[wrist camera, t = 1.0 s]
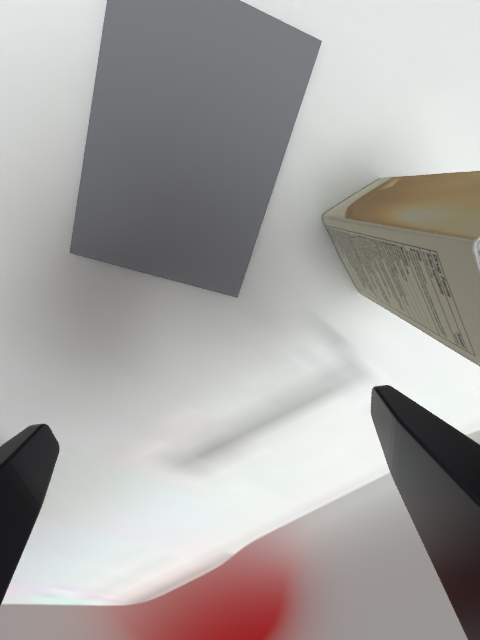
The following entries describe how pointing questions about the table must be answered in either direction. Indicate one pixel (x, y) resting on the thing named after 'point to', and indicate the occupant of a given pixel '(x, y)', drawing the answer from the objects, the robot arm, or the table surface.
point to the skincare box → (417, 252)
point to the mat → (187, 136)
